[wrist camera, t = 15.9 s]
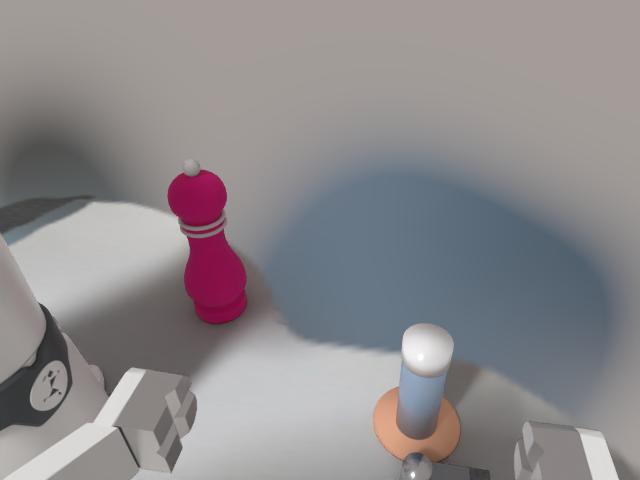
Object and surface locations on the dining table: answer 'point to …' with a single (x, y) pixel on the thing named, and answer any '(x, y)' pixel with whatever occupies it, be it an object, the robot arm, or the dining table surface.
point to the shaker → (422, 379)
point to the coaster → (401, 445)
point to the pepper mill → (207, 245)
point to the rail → (438, 470)
